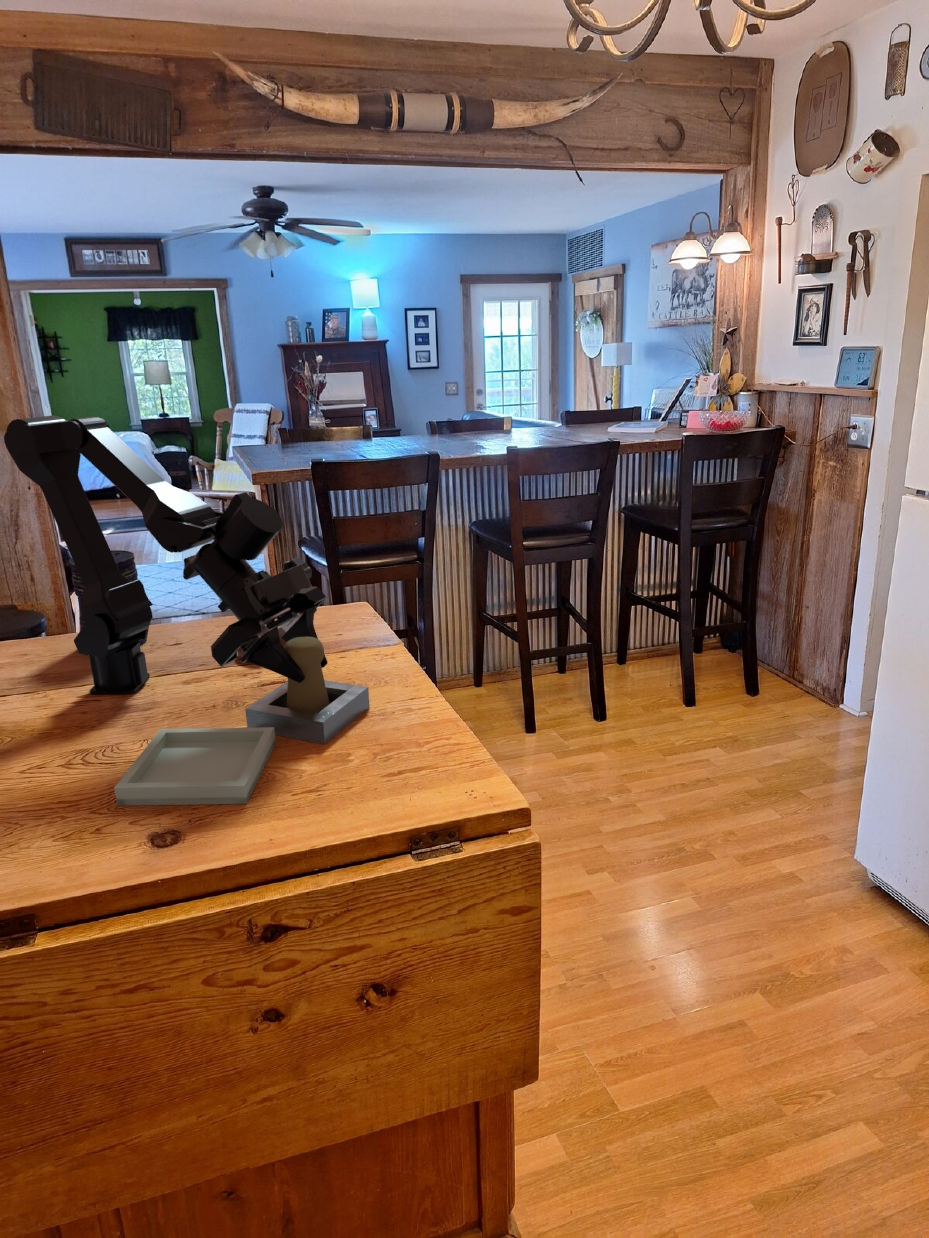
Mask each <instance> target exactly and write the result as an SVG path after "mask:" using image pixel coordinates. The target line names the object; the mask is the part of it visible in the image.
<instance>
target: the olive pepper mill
mask: <svg viewBox="0 0 929 1238" xmlns="http://www.w3.org/2000/svg"><path fill="white" fill-rule="evenodd" d="M324 647H325V646H324V645H323V643H322V641H321V640H320V639H319V638H318V639H317V638H314V637H297V638H293V639H291V640H289V641H288V642H287V643H286V644H285V646H284V648H285V650H286V651H287V652H288V653H289V655H290V656H291V657H292V659H293V660H294V661H295V662H296V664H297V665H298V666H299V668H300V669H301V671H302V672H303V674H304V675H305V679H304V680H303V681H302V682H301V683H299V682H296V681H294V680H292V679H289V678H287V681H288V688H287V708H290V709H296V710H301V711H307V712H313V713H319V712H320V711H321V710H323V709H324V708H325V707H327V706H328V705H329V700H328V695H327V690H326V686H325V681H324V680H325V678H324V672H323V668H322V667H321V661H322V660H323V658H324V654H325V648H324Z"/></svg>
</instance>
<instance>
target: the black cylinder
mask: <svg viewBox="0 0 929 1238" xmlns="http://www.w3.org/2000/svg"><path fill="white" fill-rule="evenodd" d="M110 550H111V553H112V555H113V557H114V560H115V562H116V564H117V566H118V569H119V571H120V572H121V574H123V575H124V576H125V577H126V578H128V579H129V580H130V581H135V580H139V578H138V576H139V574H138V569H137V565H136V562H135V553H134V552H132V551H128V550H122V549H121V550H118V549H115V550H112V549H110ZM69 565H70V567H71V569H70V571H71V581H72V582H71V583H72V585H73V591H74V595H76V597H77V601H78V602H77V603H78V608H79V613H80V616H79V624H80V630H81V629H82V628H83V627H84V625H85V624H86V621H85V617H84V614H83V611H82V600H83V593H84V584H83V581H82V579H81V577H80V574H79V572H78V570H77V568H76V565H75V563H74V561H73V559H72V558H71V559H69ZM146 641H148V637H147V638H146V639H142V640H140V641H138V642H140V646H141V645H142V646H144V645H145V644H147V642H146ZM144 643H145V644H144ZM143 644H144V645H143ZM142 646H141V647H142Z"/></svg>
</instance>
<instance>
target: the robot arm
mask: <svg viewBox="0 0 929 1238" xmlns="http://www.w3.org/2000/svg"><path fill="white" fill-rule="evenodd" d="M111 429H112V428H111V427H110V425H109V423H108V422H107V421H106V420H105V419H104V418H100V417H98V416H95V415H93V416H86V417H85V416H84V417H77V418H70V419H69V420H67V419H64V418H62V417H61V416H59V415H54V414H53V415H45V416H36V417H35V416H34V417H27V418H26V417H25V418H16V419H13V420H11V421H10V422H9V423H8V425H7V427H6V431H5V433H4V436H3V440H4V444H5V447H6V450H7V451H8V453H9V455H10V456H11V458H12V460H13V462H14V464H15V465H16V466H17V468H18V470H19V471H20V473H22V474H23V475H24V476H26V477H27V478H28V479H30V480H31V481H32V482H33V483H35V484H36V485H37V486H38V487H39V488H40V490H41V492H42V494H43V496H44V499H45V500H46V503H47V505H48V507H49V509H50V513H52V514H51V515H52V516H53V518H54V521H55V523H56V525H57V527H58V529H59V532H60V534H61V536H62V538H63V541H64V543H65V544H66V548H67V550H68V553H69V554H70V556H71V559H73V561H74V563H75V565H76V568H77V570H78V572H79V574H80V577H81V579H82V581H83V584H84V593H83V600H82V611H83V614H84V617H85V621H86V624H85V625H84V627H83V628H82V629H81V628H80V630H79V632H78V633H77V635H76V636H75V638H74V640H73V643H74V644H75V647H76V650H77V652H78V654H79V655H84V656H88V658H89V664H90V669H91V676H92V680H93V686H92V687H91V688H90V689H89V690H88V692H89V694H90V695H100V694H101V695H109V694H112V695H113V694H118V695H119V694H134V693H136V692H137V691H138V690H139V689H140V688H141V687H142V685H144V683H146V682H147V680H149V679H150V677H151V675H150V673H149V672H148V667H147V660H146V654H145V652H144V651H142V650H141V647H140V642H138V641H140V640H142V639H146V638H147V639H148V635H149V634H148V633H149V627H150V625H151V623H152V622H151V621H152V620H153V612H152V608H151V607H152V606H153V603H152V601H151V600H150V599H149V598H148V596H147V594H146V593H147V592H146V590H145V586H144V584H143V582H142V581H141V580H140V579H138V580H135V581H130V580H129V579H128V578H126V577H125V576H124V575H123V574H121V572H120V571H119V569H118V566H117V564H116V562H115V560H114V557H113V555H112V553H111V550H112V549H111V548H110V546H109V543H108V541H107V539H106V537H105V534H104V532H103V530H102V528H101V525H100V523H99V521H98V519H97V516H96V514H95V512H94V510H93V507H92V505H91V503H90V500H89V498H88V496H87V493H86V491H85V489H84V487H83V484H82V481H81V480H80V477H79V471H80V463H81V458H82V457H81V456H83V457H84V458H85V459H86V460H87V461H88V462H89V463H90V464H92V466H94V468H96V469H97V470H98V471H99V472H100V473H101V474H102V475H103V476H104V477H105V478H106V479H107V480H108V481H109V482H111V483H112V484H113V485H114V486H115V487H116V488H117V489H118V490H119V491H121V493H122V494H123V495H124V496H125V497H127V499H128V500H129V501H131V502H132V503H133V504H134V505H135V506H136V507H137V508H138V509H139V510H138V511H140V513H141V514H142V518H143V523H144V526H145V528H146V529H147V531H148V532H149V533H150V535H151V536H152V537H153V538H154V539H155V540H156V542H157V543H158V544H159V545H160V546H161V548H162V549H164V551H165V550H166V551H167V552H169V553H172V554H173V553H182V552H185V551H188V550H191V549H193V548H197V547H200V546H201V547H200V548H199V550H197V552H196V553H195V554H194V555H190V556H188V557H185V558H183V564H184V567H183V571H182V573H183V574H182V577H183V579H184V580H185V581H189V580H190V579H192V578H195V577H197V576H199V577H201V578H202V580H203V581H204V583H206V585H207V586H208V587H209V588H210V589H211V591H212V592H213V593H214V594H215V595H216V596H217V597H218V598H219V600H220V603H219V604H218V605H217V608H218V609H219V610H220V612H221V613H224V612H226V611H228V610H229V611H230V612H231V613H232V615H234V617H235V618H236V619H237V620H238V621H237V620H236V621H235V622H233V623H231V624H229V625H228V626H227V627H226V629H224V630H223V632H222V633H221V634H220V635H219V637H217V639H216V640H215V641H214V642H213V643H212V645H210V651H211V652H210V653H211V657H212V658H213V659H214V661H215V662H216V664H218V665H219V666H220V667H221V668H223V667H225V666H228V665H229V664H231V663H232V662H235V661H236V659H237V658H238V652H237V651H238V650H239V648H240V647H241V648H242V651H243V652H244V653H245V655H244V656H243V657H242V658H241V657H240V659H239V661H240V662H241V663H242V664H244V663H249V664H251V665H255V666H257V667H261V668H264V669H266V670H269V671H271V672H274V673H276V674H278V675H280V676H283V677H285V678H287V679H288V678H289V679H292V680H294V681H296V682H299V683H301V682H302V681H303V680H304V679H305V675H304V674H303V672H302V671H301V669H300V668H299V666H298V665H297V664H296V662H295V661H294V660H293V659H292V657H291V656H290V655H289V653H288V652H287V651H286V650H285V648H284V647H283V646H282V644H281V643H280V638H279V632H278V627H279V626H281V627H282V628H283V629H284V630H285V632H286V633H285V634H284V635H283V636H282V637H281V638H282V639H283V640H284V641H286V642H288V641H289V640H291V639H293V638H297V637H314V638H317V639H318V640H319V638H318V635H317V631H316V629H315V625H314V622H315V621H314V619H315V613H317V611H318V607H320V606H321V604H322V603H324V601H326V599H327V596H326V595H325V594H324V592H323V591H322V590H321V589H320V588H319V587H318V586H312V584H311V580H310V579H312V576H313V570H312V569H313V568H311V567H310V566H309V564H307V563H306V562H305V561H304V560H303V559H302V558H301V557H300V556H298V557H295V558H293V559H291V560H288V561H286V562H284V563H283V571H282V572H280V573H277V574H274V575H273V576H272V575H271V574H269V572H268V571H267V570H264V569H262V570H260V571H258V572H257V571H256V570H255V569H254V568H253V567H252V565H250V564H249V561H253V560H256V559H258V557H259V556H260V555H261V553H262V552H263V551H264V550H265V549H266V548H267V547H268V545H269V544H270V543H271V542H272V541H273V540H274V539H275V538H276V536H277V535H278V534H279V533H280V531H281V530H282V528H283V521H282V518H281V516H280V514H279V513H278V511H277V510H276V509H275V507H273V506H270V505H268V504H267V503H265V502H264V501H262V500H260V499H257V498H253V497H251V496H250V494H249V493H248V492H247V491H244V492H243V491H242V492H240V493H237V494H236V493H235V494H234V496H233V497H232V498H231V500H230V501H229V504H228V506H227V507H226V509H225V510H224V512H223V511H220V510H214V509H213V508H212V507H211V506H210V505H209V504H208V503H206V502H205V501H203V500H202V499H200V498H199V497H197V496H196V495H194V493H192V492H189V491H187V490H184V489H182V488H178V487H176V486H173V485H172V484H170V483H169V482H168V481H166V480H165V479H164V478H163V477H162V476H161V475H160V474H158V473H157V472H156V471H155V470H154V469H153V468H152V467H151V466H150V465H149V464H148V463H147V462H146V461H145V460H143V458H141V457H140V455H138V454H137V453H136V452H135V451H134V450H133V449H132V448H131V447H130V446H128V444H126V443H125V442H124V441H123V440H122V439H121V438H120V437H119V436H118V435H117V434H116V433H115V432H114V431H112V430H111ZM213 539H214V540H213ZM210 542H211V543H210ZM265 625H266V626H265ZM328 662H329V661H328V658H327V657H326V654H325V653H324V658H323V660H322V661H321V667H322V669H323V668H325V667H326V666H327V665H328V664H329V663H328Z"/></svg>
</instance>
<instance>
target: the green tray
mask: <svg viewBox="0 0 929 1238" xmlns="http://www.w3.org/2000/svg"><path fill="white" fill-rule="evenodd" d="M276 744H277V743H276V735H275V730H274V727H258V728H247V727H215V728H214V727H212V728H211V727H210V728H209V727H207V728H204V727H203V728H160V729H159V730H158V732H157V733H156V735H155V736H154V737H153V738H152V739H151V740H150V742H149V743H148V745H147V746H145V748H144V750H142V752H141V753H140V755H139V756H138V757H137V758H136V759H135V761H134V762H133V763H132V765H130V767H129V769H127V771H126V772H125V773H124V774H123V775H122V777H121V778H120V780H118V782H117V783H116V784H115V786H114V787H113V789H114V795H115V801H116V806H118V807H119V806H120V807H122V806H124V807H126V806H130V807H131V806H177V805H178V806H187V805H193V806H194V805H246V804H248V802H249V801H250V798H251V796H252V794H253V792H254V790H255V788H256V785H257V784H258V781H259V779H260V777H261V776H262V773H263V770H264V769H265V767H266V765H267V762H268V760H269V759H270V756H271V754H272V752H273V750H274V748H275V746H276Z"/></svg>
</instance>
